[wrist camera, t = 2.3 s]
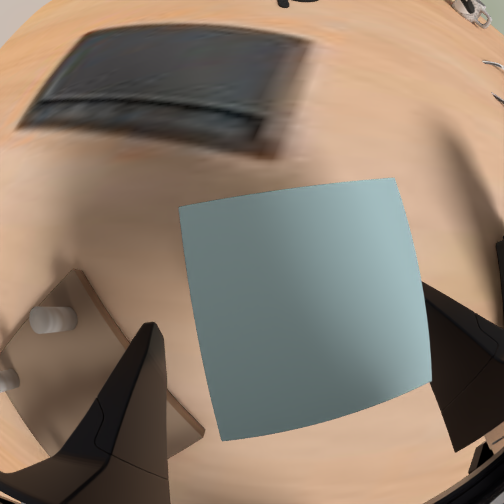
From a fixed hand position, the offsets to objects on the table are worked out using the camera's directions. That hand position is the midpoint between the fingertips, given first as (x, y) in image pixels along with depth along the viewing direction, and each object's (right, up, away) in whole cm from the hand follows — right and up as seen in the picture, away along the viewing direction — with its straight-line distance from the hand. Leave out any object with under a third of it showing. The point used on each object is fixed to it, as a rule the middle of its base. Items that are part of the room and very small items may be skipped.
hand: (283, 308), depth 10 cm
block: (0, -1, +8) cm, 8 cm away
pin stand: (-14, -9, +6) cm, 18 cm away
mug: (+48, +54, +19) cm, 75 cm away
